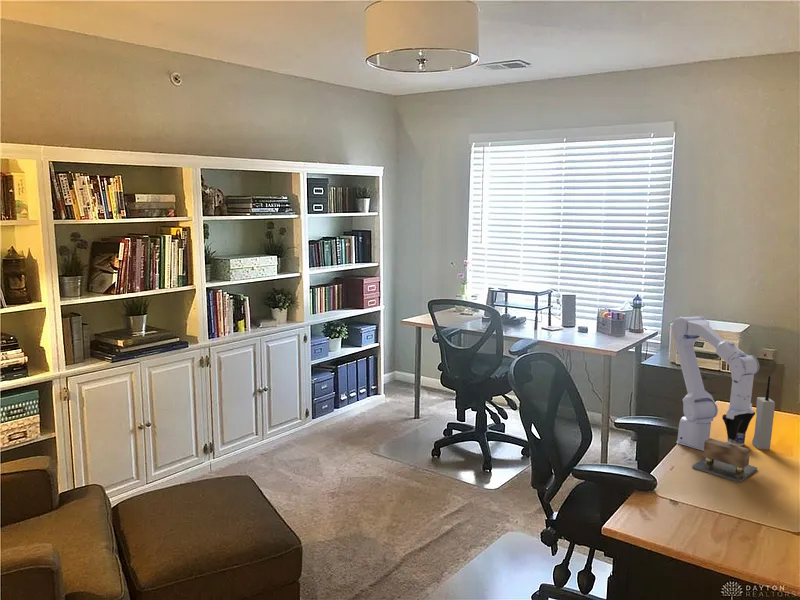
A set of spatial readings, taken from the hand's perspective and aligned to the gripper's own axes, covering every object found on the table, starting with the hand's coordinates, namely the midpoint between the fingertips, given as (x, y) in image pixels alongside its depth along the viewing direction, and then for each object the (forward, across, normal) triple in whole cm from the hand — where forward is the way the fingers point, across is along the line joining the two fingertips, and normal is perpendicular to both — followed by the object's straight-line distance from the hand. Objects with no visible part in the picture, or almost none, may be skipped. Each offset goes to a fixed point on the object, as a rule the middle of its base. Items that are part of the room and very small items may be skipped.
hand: (736, 435), depth 205 cm
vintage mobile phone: (+10, +22, 0) cm, 24 cm away
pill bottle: (+10, +18, +7) cm, 22 cm away
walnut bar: (+6, -6, 0) cm, 9 cm away
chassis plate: (+9, -6, 0) cm, 11 cm away
